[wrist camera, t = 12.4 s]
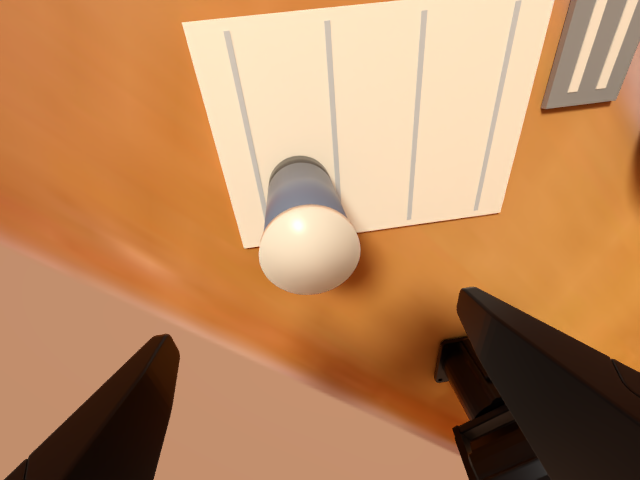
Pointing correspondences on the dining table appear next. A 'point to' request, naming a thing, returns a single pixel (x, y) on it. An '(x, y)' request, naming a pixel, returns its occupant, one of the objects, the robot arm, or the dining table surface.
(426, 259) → the dining table surface
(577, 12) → the grey striped tile
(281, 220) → the grey capped bottle
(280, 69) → the paper
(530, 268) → the dining table surface
